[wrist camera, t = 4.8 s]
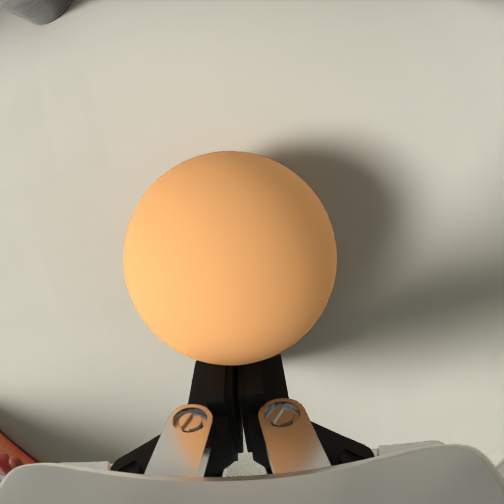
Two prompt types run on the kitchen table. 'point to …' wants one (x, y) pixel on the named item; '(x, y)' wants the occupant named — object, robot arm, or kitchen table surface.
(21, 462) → the cracker box
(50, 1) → the inner post
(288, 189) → the ball
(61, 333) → the kitchen table surface
